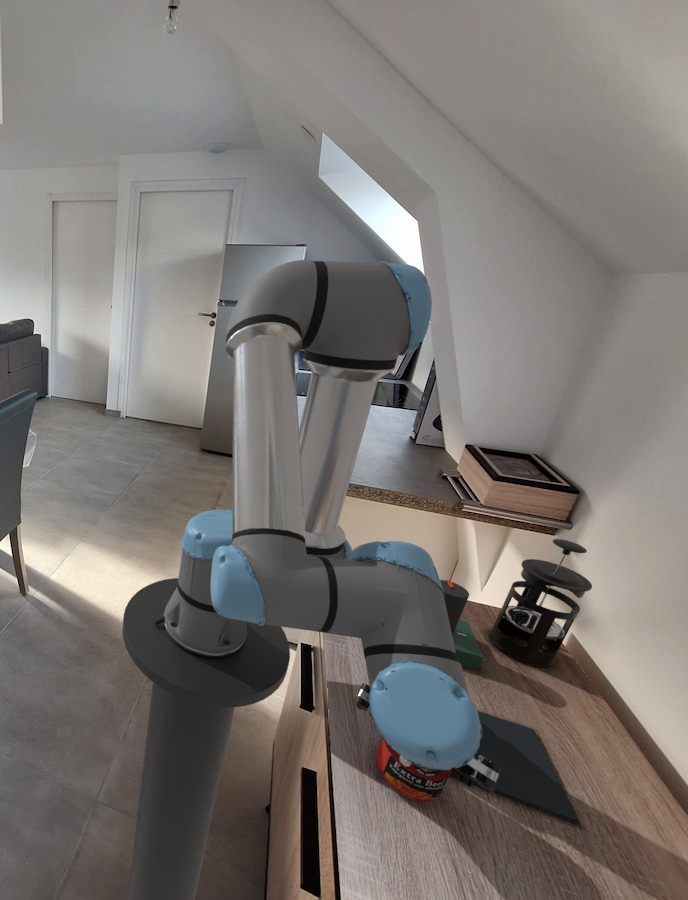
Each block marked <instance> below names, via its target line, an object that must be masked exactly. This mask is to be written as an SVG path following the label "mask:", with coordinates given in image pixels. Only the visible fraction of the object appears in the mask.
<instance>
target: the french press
mask: <svg viewBox="0 0 688 900" xmlns="http://www.w3.org/2000/svg"><path fill="white" fill-rule="evenodd" d="M552 543H553V544H554V545H555V546H556V547H558V548H560V549H562V551H561V553H562V557H561V559H560V561H559V563H554V562H551V561H548V560H547V561H546V560H541V559H535V558H530V559H524V560H522V562H521V568H522V570H521V572H520V576H521V578H522V579H523V580H517V581H514V582H513V583H512V584H511V587H510V589H509V591H508V593H507V596H506V597H505V600H504V602H503V604H502V606H501V609H500V611H499V613H498V615H497V617H496V620H495V622H494V624H493V627H492V628H491V629H490V630H489V632H488V633H487V637H488V640H489V642H490V643H491V644H492V645H493V646H494V647H495V648H496V649H497V650H498V651H499V652H501V653H502V654H504V655H505V656H507V657H509V658H511V659H512V660H515V661H517V662H518V663H521V664H524V665H527V666H531V667H535V668H541V669H546V668H551V667H552V666H553V665H554V664H555V661H556V659H555V658H556V656H557V655H558V653H559V651H560V648H561V646H562V644H563V642H564V640H565V638H566V636H567V634H568V633H569V631H570V628H571V626H573V623H574V621H575V619H576V618H577V616H578V615H579V613H580V611H581V608H580V606H579V604H578V603H577V601H575V600H574V599H572V598H571V597H570V596H568V595H567V594H565V593H563V592H561V591H559V590H557V589H555V588H553V587H556V588H560V589H562V590H567V591H569V592H571V593H572V594H573V595H574V596H575V597H577V598H578V599H581V598H583V597H584V595H585V593H586V592H590V591H591V590H592V588H593V584H592V583H591V582H590V580H588V579H587V578H586V577H585V576H583V574H580V573H578V572H576V571H574V570H573V569H570V568H568V567H565V566H563V563H564V562H565V559H566V557H567V556H570V555H571V554H572V553H575V554H576V553H577V554H585V553H587V551H588V550H587V549H586V548H585V547H584V546H582V545H580V544H578V543H576V542H574V541H571V540H568V539H567V540H566V539H563V538H554V539H553V540H552ZM515 588H523V591H522V593H521V594H520V593H519V592H518V591H517V590H516V589H515ZM542 593H543V596H542V598H541V600H540V597H541V595H542ZM548 595H550V596H552V597H554V598H556V599H558V600H559V601H561V602H563V603H564V604H566V605H567V606H568V607H569V608H571V610H570V612H563V611H559V610H553V609H550V608H547V607H544V606H543V604H544V602H545V600H546V599H547V596H548ZM512 598H513V599H514V601H516V602H517V604H516V605H510V603H511V600H512ZM539 600H540V602H539ZM538 602H539V604H537V603H538ZM557 619H558V620H563V621H564V620H565V622H564V624H563V626H561V625H560V624H559V623H557V622H556V621H555V620H557ZM508 635H512V636H516V637H519V638H521V639H523V640H526V641H527V644H526V645H524V644H521V643H519V642H517V641H516V640H514V639H513V638H511V637H510V636H508Z"/></svg>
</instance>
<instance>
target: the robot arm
mask: <svg viewBox="0 0 688 900" xmlns="http://www.w3.org/2000/svg"><path fill="white" fill-rule="evenodd" d="M432 308H433V299H432V292H431V287H430V285H429V282H428V279H427V277H426V275H425V274H424V273H423V271H421V269H419V267H416V266H414V265H411V264H404V263H396V262H388V261H387V262H386V261H383V260H381V261H340V260H339V261H338V260H312V259H298V260H297V259H296V260H292V261H288V262H284V263H282V264H279V265H277V266H275V267H273V268H271V269H269V270H268V271H266V272H265V273H263V274H262V275H261V276H259V277H258V278H256V280H255V281H253V282H252V283H251V284H250V286H249V287H248V288H247V289H246V290H245V291H244V292H243V294H242V295H241V296H240V298H239V299H238V301H237V303H236V304H235V306H234V308H233V309H232V312H231V315H230V316H229V320H228V323H227V327H226V333H225V355H226V357H227V359H228V360H229V361H230V362H231V363H232V367H233V368H232V484H231V485H232V487H231V489H232V490H231V491H232V494H231V495H232V497H231V498H232V500H231V502H232V503H231V505H232V507H231V508H232V509H231V510H229V509H213V510H206V511H203V512H200V513H197V515H194V516H193V517H191V519H189V520H188V522H187V523H186V526H185V530H184V534H183V538H182V541H181V557H180V564H179V571H178V577H177V578H178V585H177V588H176V590H175V592H174V593H173V595H172V597H171V599H170V600H169V602H168V604H167V606H166V608H165V611H164V616H163V617H161V618H159V619H157V620H155V623H156V625H158V624H160V623H162V622H163V626H164V629H165V632H166V634H167V635H168V637H169V638H170V639H171V641H172V642H173V643H174V644H176V645H177V646H178V647H179V648H181V649H182V650H184V651H186V652H188V653H190V654H192V655H195V656H198V657H202V658H207V659H224V658H228V657H231V656H233V655H235V654H237V653H238V652H239V651H240V650H241V649H242V648H243V646H244V644H245V640H246V635H247V626H246V622H252V623H255V624H257V625H259V626H263V625H272V626H280V627H282V628H288V629H294V630H295V629H297V630H302V631H311V632H316V633H324V634H329V635H336V636H337V635H338V636H345V637H350V638H351V637H352V638H357V639H360V640H361V645H362V649H363V656H364V659H365V668H366V673H367V680H368V683H363V682H362V684H361V686H360V688H359V689H358V691H357V694H356V695H355V698H354V700H353V701H354V702H355V704H354V705H355V707H356V708H357V709H358V710H360V711H361V710H362V711H364V712H369V716H370V717H371V720H372V723H373V725H374V726H375V727H376V728H377V732H378V734H379V735H380V736H381V738H382V737H383V740H384V741H385V742H386V743H387V744H388V745H389V746H390V747H391V748H392V749H393V750H395V751H396V752H397V754H399V755H400V756H399V761H400V763H402V764H403V765H404V766H407V767H410V765H411V764H413V765H415V766H417V767H419V768H422V769H425V770H430V771H444V770H450V769H452V768H453V769H452V772H453V773H454V774H456V775H457V776H458V775H460V778H459V779H458V781H459V782H461V783H462V784H464V785H466V786H467V787H469V788H472V785H473V784H472V783H473V781H474V779H475V780H476V782H477V783H478V784H479V785H480V786H481V787H480V788H482V787H483V788H482V790H484V791H485V792H486V793H489V794H494V793H495V792H494V790H495V788H496V786H497V783H498V781H499V779H500V776H501V770H502V767H500V766H499V765H498V763H496V762H495V761H491V760H489V759H486V758H484V757H483V756H481V755H479V756H478V758H475V757H474V754H475V753H477V750H478V748H479V746H480V740H481V738H482V725H481V723H480V720H479V715H478V711H479V710H478V708H477V706H476V704H475V703H474V702H473V699H472V697H470V694H469V691H468V687H467V683H466V679H465V675H464V674H465V673H464V671H463V666H462V665H461V664H460V662H459V658H458V655H457V654H456V651H455V647H454V642H453V637H452V632H451V628H450V623H449V618H448V614H447V609H446V604H445V600H444V596H445V595H444V590H443V588H442V585H441V582H440V580H441V579H440V576H439V573H438V571H437V568H436V566H435V564H434V560H433V558H432V556H431V555H430V553H429V552H428V551H427V550H426V549H424V548H423V547H421V546H420V545H416V544H414V543H411V542H406V541H400V540H399V541H398V540H389V541H372V542H371V541H370V542H366V543H364V544H360V545H358V546H356V547H355V548H352V546H351V544H350V542H349V541H348V540H347V539H346V533H345V531H344V529H343V528H342V527H341V525H339V522H340V518H341V514H342V511H343V508H344V503H345V501H346V497H347V494H348V491H349V490H348V489H349V486H350V482H351V480H352V479H351V478H352V475H353V471H354V468H355V463H356V461H357V458H358V453H359V450H360V447H361V443H362V439H363V436H364V433H365V428H366V425H367V422H368V419H369V414H370V411H371V408H372V403H373V400H374V396H375V393H376V390H377V387H378V382H379V381H380V380H381V378H383V377H385V376H387V375H388V374H389V373H391V372H393V371H394V370H395V368H396V365H397V362H398V359H399V356H405V355H408V354H411V353H414V352H415V351H416V350H417V349H418V348H419V347H420V343H422V342H423V341H424V339H425V337H426V335H427V332H428V329H429V327H430V323H431V316H432ZM302 349H305V350H304V355H303V359H302V360H303V361H304V363H305V364H306V365H307V366H308V368H309V369H310V372H311V375H310V379H309V383H308V388H307V392H306V397H305V402H304V407H303V411H302V415H301V419H300V422H299V408H298V406H299V405H298V391H297V375H296V357H297V356H298V355H299V354H300V353H301V350H302ZM299 423H300V424H299Z"/></svg>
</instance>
